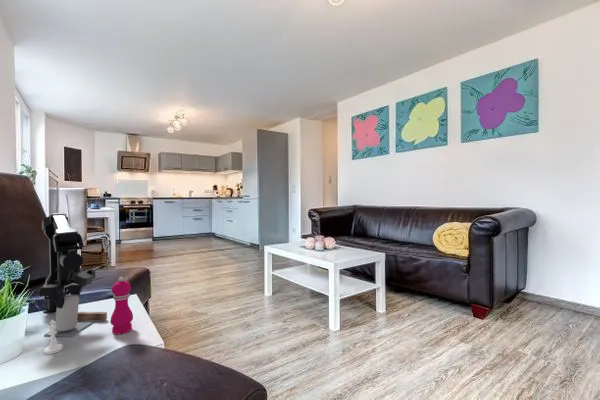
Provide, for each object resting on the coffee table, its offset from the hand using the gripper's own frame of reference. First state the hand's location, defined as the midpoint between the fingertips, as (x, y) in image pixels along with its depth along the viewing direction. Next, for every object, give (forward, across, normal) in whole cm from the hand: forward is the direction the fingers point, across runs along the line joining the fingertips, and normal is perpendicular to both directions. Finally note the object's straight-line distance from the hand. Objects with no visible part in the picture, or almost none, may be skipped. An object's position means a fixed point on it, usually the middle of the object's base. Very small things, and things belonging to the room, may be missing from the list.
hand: (68, 307), depth 112 cm
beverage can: (+8, -2, 0) cm, 8 cm away
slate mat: (+9, 0, 0) cm, 9 cm away
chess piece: (+9, -14, -6) cm, 18 cm away
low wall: (+9, +9, +2) cm, 12 cm away
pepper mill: (+9, 0, -20) cm, 22 cm away
